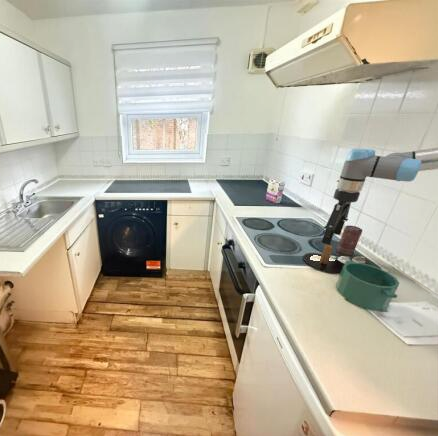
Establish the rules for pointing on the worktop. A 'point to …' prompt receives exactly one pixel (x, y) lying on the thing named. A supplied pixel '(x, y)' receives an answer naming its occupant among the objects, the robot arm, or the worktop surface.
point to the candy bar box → (275, 191)
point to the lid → (324, 262)
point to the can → (349, 240)
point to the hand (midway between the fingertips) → (331, 238)
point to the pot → (366, 285)
